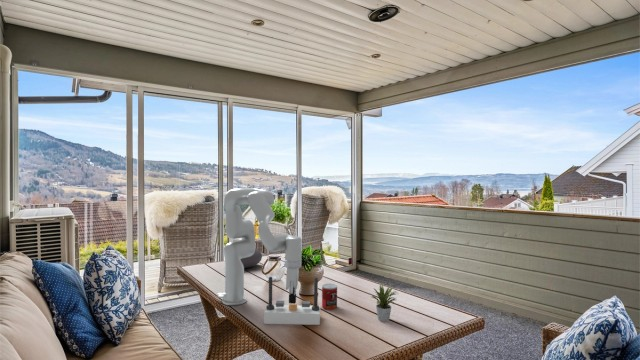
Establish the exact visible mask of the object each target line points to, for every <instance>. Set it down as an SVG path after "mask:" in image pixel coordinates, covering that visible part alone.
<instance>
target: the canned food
mask: <svg viewBox="0 0 640 360" xmlns="http://www.w3.org/2000/svg"><path fill="white" fill-rule="evenodd" d="M321 307H322V309H324V310H327V311H332V310H336V309H337V307H338V285H337V284H335V283H324V284H322V286H321Z"/></svg>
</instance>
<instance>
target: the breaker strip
mask: <svg viewBox="0 0 640 360" xmlns="http://www.w3.org/2000/svg"><path fill="white" fill-rule="evenodd" d="M273 305H274V309H273V310H267V309H266V308H265V310H264V312H263V317H264V318H263V323H264V325H305V326H306V325H313V326H315V325H319V326H320V324H321V309H320V310H319V311H313V310H312V306H313V305H310V307H302V304H301V305H299V304H297V310H289V304H284V307H276V304H273ZM318 306H319V307H320V308H321V305H318Z"/></svg>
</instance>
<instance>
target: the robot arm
mask: <svg viewBox="0 0 640 360" xmlns="http://www.w3.org/2000/svg"><path fill="white" fill-rule="evenodd" d="M274 202H275V197H274V195H273V193H272V192H270V190H265V189H259V188H255V187H246V188H245V187H242V188H241V187H239V188H232V189H230V190H228V191H227V192H226V193H225V195H224V197H223V204H224V210H225V232H226V233H225V234H226V236H227V238H228V239H230V240H233V239H234V240H235V241H231V242H228V243H226V244H225V245H224V247H223V249H222V250H223V258H224V262H225V263H224V264H225V265H224V269H225V270H224V271H225V272H224V273H225V278H224V279H225V281H224V282H225V287H224V288H225V289H224V291H225V292H223V293H222V292H218V293H217V295H216V296H217V298H218V299H221V303H222V304H223V305H226V306H239V305H242V304H245V303H247V301H248V299H247V297H246V296H245V293H244V292H245V277H244V276H245V268H244V266H243V264H242V262H241V259H242V258H246V257H249V256H252V255H253V254H254V252H255V248H256V228H255V227H256V226H255V224H254V222H253V221H251V220H250V219H243V211H242V209H241V205H249V207H250V209H251V210H252V212H253V214H254V216H255V218H256V219H257V222H259V223H258V229H257V230H258V237H259V239H260V241H261V244H262V245H263V247H264V248H265V249H266V251H268V252H271V253H277V252H280V251H285V252H284V253H285V254H284V256H285V257H284V267H285V268H286V275H285V276H286V278H285V279H286V280H285V290H286V291H287V290H288V291H289V294H288V304H297V288H298V285H299V274H300V273H299V271H300V268H302V255H303V254H302V252H303V251H302V248H303V241H302V240H303V239H302V237H300V236H297V235H291V234H288V233H281V234H280V233H279V234H273V233H272V231H271V229H270V227H269V223H271V222H272V221H273V219H275V216H276V214H275V212H274V210H273V208H272V207H271V206H273V205H274ZM238 239H241V240H238Z"/></svg>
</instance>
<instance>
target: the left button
mask: <svg viewBox="0 0 640 360" xmlns="http://www.w3.org/2000/svg"><path fill="white" fill-rule="evenodd" d="M275 305H276V307H284V305H285V300H276V302H275Z"/></svg>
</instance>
